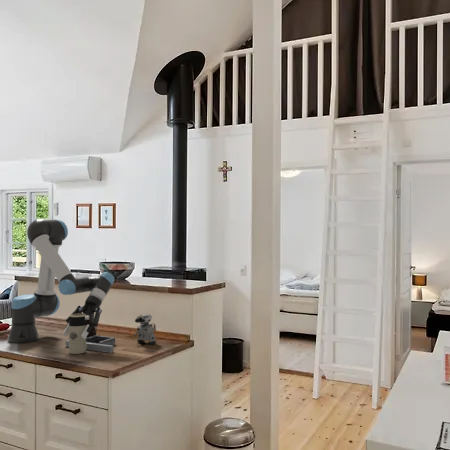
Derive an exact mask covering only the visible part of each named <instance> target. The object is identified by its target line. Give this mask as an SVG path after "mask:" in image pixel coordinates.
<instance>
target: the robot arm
mask: <svg viewBox="0 0 450 450" xmlns="http://www.w3.org/2000/svg"><path fill="white" fill-rule="evenodd" d="M68 230H69V229H68V227H67V224H66V223H65V221H63V220H60V219H53V218H51V219H50V218H49V219H43V218H39V219H35V220H32V222H30V223H29V225H28V226H27V230H26V235H27V239H28V242H29V244H30V245H31V246H32V247H33V248H35V249H36V250H37V251H38V253H39V254H40V264H39V274H38V283H37V288H36V289H35V290H34V292H33V294H32V293H31V294H28V293H27V294H22V295H18V296H15V297H14V298H12V301H11V326H10V327H11V328H10V332H9V333H8V337H7V342H9V343H13V344H14V343H15V344H25V343H31V342H35V341H38V340H39V338H40V337H39V335H40V334H39V333H38V329H37V326H36V319H38V318H41V317H48V316H50V315H51V316H52V315H54V314H55V313H56V312H57V311H58V310H59V308H60V304H61V303H60V299H59V296H58V295H57V292H56V291H55V281H56V279H57V281H58V282H59V283H58V291H59V293H60V294H61V295H64V296H68V295H69V296H70V295H75V294H81V293H88V292H89V295H88V296H87V298H86V299H85V301H84V305H83V306H80V305H77V307H76V309H75V310H74V311H72V313H71V314H86V316H85V317H89V324H90V325H89V324H88V325H87V326H86V328H85V330H84V332H83V333H82V335H81V337H82V338H83V339H85V338H88V337H87V335H88V333H90V331H91V330H92V328H93V327H94V326H96V327H97V328H98V326H99V322H100V317H101V313H102V312H103V310H102V309H101V305H102V303H103V301H104V300H105V298H106V296H107V294H108V293H109V292H110V290H111V288H112V287H113V284H114V282H115V277H114V275H113V274H111V273H110V272H106V271H105V272H102V273H101V274H100V276H81V277H80V278H76V277H75V275H74V274H73V273H72V271H71V270H70V268H69V266H68V265H67V264H66V262H65V260H63V258H62V257H61V255H60V254H59V248H60V247H61V246H62V245H63V241H64V240H66V239H67V237H68V234H69V231H68ZM69 321H70V315H69V316H68V317H67V318H66V319H65V322H66V323H67V324H66V326H65V328H64V330H63V332H62V335H63V336H64V337H65V338H67V337H68V336H69Z"/></svg>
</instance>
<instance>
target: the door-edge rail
mask: <svg viewBox="0 0 450 450" xmlns="http://www.w3.org/2000/svg"><path fill="white" fill-rule="evenodd" d="M65 347H66V348H69V339H67V340H65ZM87 350H88V351H95V352H101V353H109V354H112V353H114V345H104V344H99V343H88V342H86V351H87Z"/></svg>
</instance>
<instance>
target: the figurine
mask: <svg viewBox="0 0 450 450" xmlns="http://www.w3.org/2000/svg"><path fill="white" fill-rule="evenodd" d="M152 318H153V315H151V314H143V315H142V314H140V315H138V316H137V317H136V318H135V319H134V322H135V323H138V324H140V325H139V326H137V328H136V329H137V330H135V331H136V332H134V337H135V338H136V337H137V341H136V342H137V343H139V344H140V343H143V342H145V341H148V345H149V346H152V345H155V344H157V343H156V342H157V341H156V336H155V334H154V331H155V332H156V331H157V327H156V324H155V323H154V322H152V323H150V322H151V321H152ZM137 334H138V335H137Z"/></svg>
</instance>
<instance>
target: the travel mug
mask: <svg viewBox="0 0 450 450" xmlns="http://www.w3.org/2000/svg"><path fill="white" fill-rule="evenodd" d="M69 316H70V321H69V333H68V340H69V347H68V353H69V354H72V355H80V354H84V353H86V352H87V350H86V338H87V337H86V338H85V339H83V338H82V337H81V335H82V333H83V332H84V330H85V328H86V320H85V317H87V316H86V314H83V313H82V314H72V313H71V314H69Z"/></svg>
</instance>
